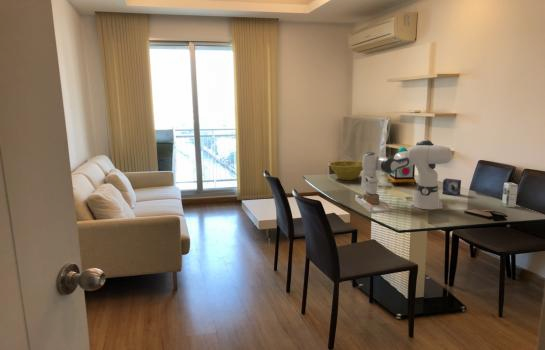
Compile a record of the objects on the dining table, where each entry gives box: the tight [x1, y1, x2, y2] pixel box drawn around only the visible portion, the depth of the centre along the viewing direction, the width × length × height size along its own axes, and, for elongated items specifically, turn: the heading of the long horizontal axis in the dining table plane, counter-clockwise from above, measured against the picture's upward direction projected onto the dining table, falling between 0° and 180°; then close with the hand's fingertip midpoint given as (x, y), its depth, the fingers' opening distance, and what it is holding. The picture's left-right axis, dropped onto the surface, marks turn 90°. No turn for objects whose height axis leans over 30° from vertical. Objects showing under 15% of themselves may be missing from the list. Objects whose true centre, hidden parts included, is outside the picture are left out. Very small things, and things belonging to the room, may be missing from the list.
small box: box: [441, 177, 462, 197], centre depth 277 cm, size 11×6×10 cm, turn 47°
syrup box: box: [501, 182, 519, 208], centre depth 244 cm, size 6×6×14 cm
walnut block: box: [363, 193, 380, 205], centre depth 254 cm, size 6×8×6 cm
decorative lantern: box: [387, 146, 417, 187], centre depth 311 cm, size 20×20×30 cm
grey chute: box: [354, 194, 390, 213], centre depth 253 cm, size 30×12×4 cm, turn 6°
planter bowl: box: [328, 160, 363, 181], centre depth 337 cm, size 32×32×13 cm
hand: (368, 197), depth 259 cm, fingers closed
